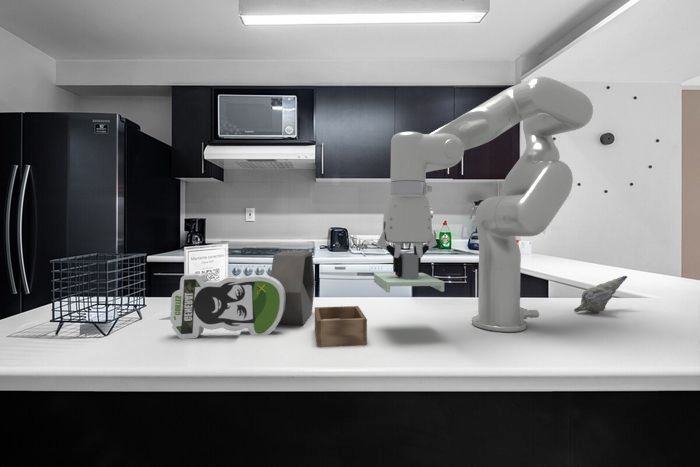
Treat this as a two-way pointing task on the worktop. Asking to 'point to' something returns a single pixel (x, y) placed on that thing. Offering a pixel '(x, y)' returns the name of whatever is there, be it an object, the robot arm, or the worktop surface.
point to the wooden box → (340, 326)
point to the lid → (407, 276)
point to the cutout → (227, 304)
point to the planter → (295, 285)
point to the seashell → (599, 296)
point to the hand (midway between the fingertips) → (406, 274)
